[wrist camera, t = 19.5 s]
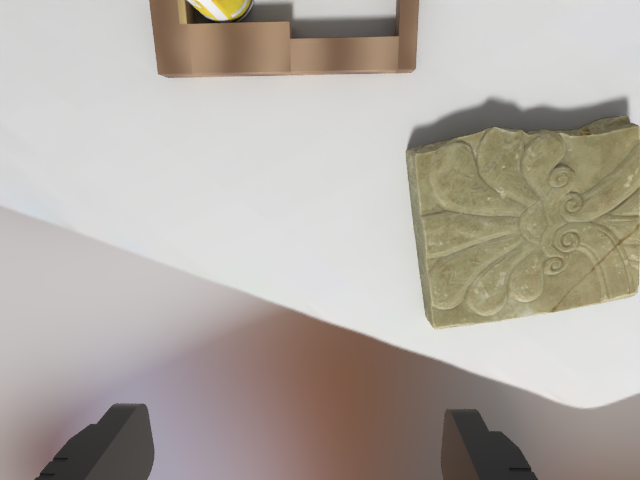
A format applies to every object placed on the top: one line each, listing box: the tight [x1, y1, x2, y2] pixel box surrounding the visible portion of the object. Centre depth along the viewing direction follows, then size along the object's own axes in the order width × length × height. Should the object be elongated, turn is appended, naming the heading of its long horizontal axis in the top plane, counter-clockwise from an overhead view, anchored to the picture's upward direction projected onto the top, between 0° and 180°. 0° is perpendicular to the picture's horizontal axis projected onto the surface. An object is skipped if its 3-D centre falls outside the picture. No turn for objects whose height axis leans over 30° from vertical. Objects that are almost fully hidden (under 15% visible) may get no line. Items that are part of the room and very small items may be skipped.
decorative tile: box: [406, 115, 640, 329], centre depth 35 cm, size 19×20×4 cm
